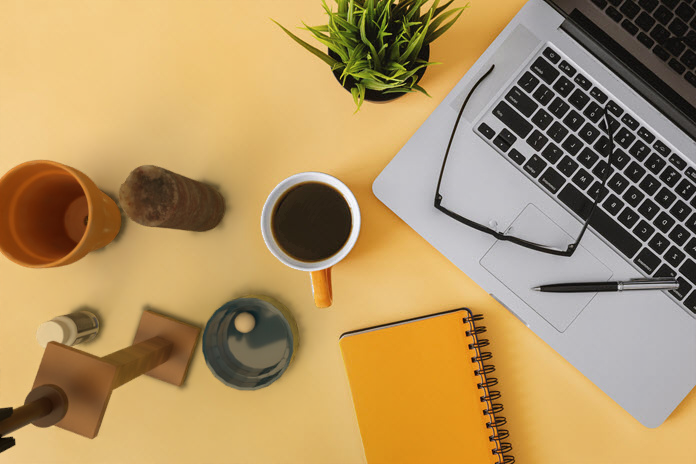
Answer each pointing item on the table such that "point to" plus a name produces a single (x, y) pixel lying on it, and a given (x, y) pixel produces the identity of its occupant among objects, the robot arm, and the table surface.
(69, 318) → the pill bottle
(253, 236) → the table surface
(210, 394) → the table surface
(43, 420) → the stick
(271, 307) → the bowl
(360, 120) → the table surface
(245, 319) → the ball
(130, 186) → the brown textured cylinder
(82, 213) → the flower pot
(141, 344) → the stand
